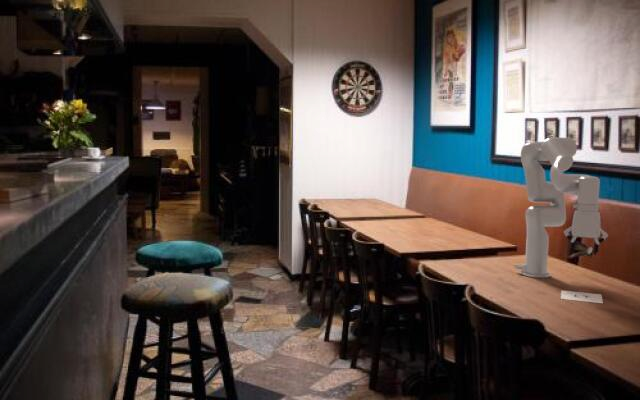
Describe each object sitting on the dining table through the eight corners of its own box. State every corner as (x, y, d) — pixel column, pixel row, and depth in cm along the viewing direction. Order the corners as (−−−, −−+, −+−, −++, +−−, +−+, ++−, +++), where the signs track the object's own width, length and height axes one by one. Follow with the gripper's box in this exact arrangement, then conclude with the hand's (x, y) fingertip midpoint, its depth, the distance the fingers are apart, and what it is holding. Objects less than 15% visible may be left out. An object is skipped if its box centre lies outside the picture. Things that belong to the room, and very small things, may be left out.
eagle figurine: (590, 253, 252) (567, 247, 254) (596, 241, 247) (572, 235, 250) (590, 266, 247) (566, 260, 249) (595, 254, 242) (571, 248, 244)
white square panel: (560, 298, 246) (560, 298, 246) (561, 290, 258) (561, 290, 258) (602, 303, 240) (602, 303, 240) (601, 294, 253) (601, 294, 253)
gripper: (563, 207, 245) (560, 252, 247) (612, 210, 239) (608, 257, 241) (563, 205, 252) (560, 249, 254) (611, 208, 246) (608, 253, 248)
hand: (584, 252), depth 247 cm, fingers closed on eagle figurine, 7 cm apart
